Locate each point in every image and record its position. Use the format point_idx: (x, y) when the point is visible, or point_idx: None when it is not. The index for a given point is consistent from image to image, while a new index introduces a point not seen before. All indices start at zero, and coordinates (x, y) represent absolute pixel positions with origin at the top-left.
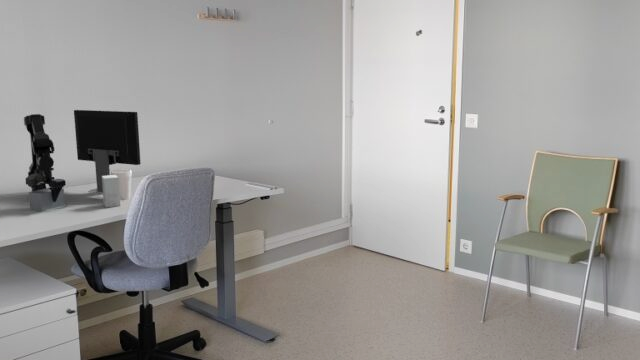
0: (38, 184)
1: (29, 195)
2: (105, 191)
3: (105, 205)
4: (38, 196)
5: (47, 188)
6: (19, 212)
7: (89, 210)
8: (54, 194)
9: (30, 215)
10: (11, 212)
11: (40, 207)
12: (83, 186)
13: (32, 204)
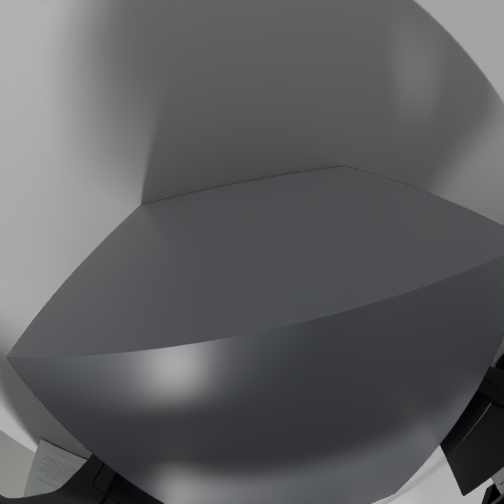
0: (498, 471)
1: (462, 215)
2: (24, 494)
3: (44, 446)
4: (121, 290)
5: (398, 483)
6: (320, 32)
7: (6, 388)
8: (99, 459)
9: (74, 45)
10: (382, 11)
11: (153, 211)
12: (435, 459)
13: (324, 184)
